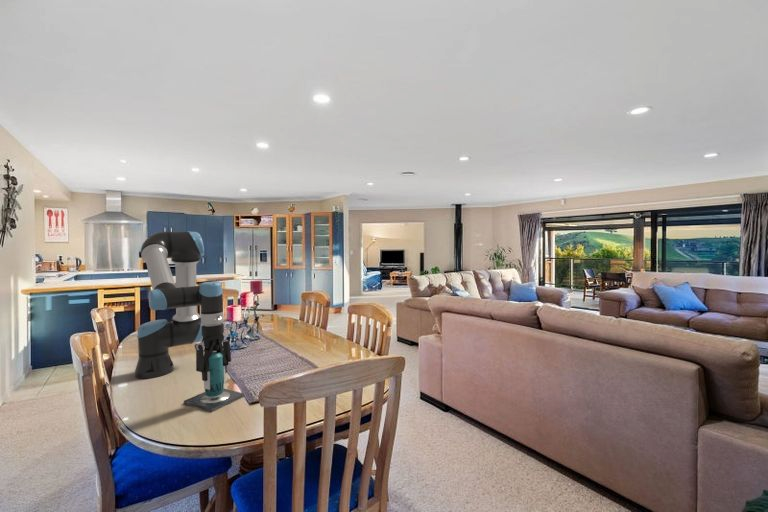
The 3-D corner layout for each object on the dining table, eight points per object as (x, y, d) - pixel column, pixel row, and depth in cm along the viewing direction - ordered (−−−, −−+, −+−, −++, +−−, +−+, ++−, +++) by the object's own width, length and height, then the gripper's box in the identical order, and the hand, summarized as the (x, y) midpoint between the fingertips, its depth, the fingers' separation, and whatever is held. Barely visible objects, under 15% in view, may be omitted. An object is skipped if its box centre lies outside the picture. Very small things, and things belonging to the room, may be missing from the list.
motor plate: (183, 403, 136) (183, 400, 136) (216, 389, 148) (216, 386, 148) (211, 412, 129) (211, 408, 129) (244, 396, 141) (244, 393, 141)
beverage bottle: (209, 394, 141) (207, 342, 140) (227, 393, 141) (225, 341, 140) (202, 401, 134) (199, 347, 133) (220, 400, 135) (218, 346, 134)
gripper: (195, 330, 127) (198, 397, 128) (240, 319, 143) (242, 378, 144) (182, 328, 130) (185, 393, 131) (226, 318, 147) (229, 375, 148)
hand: (215, 385), depth 138 cm, fingers closed on beverage bottle, 6 cm apart
